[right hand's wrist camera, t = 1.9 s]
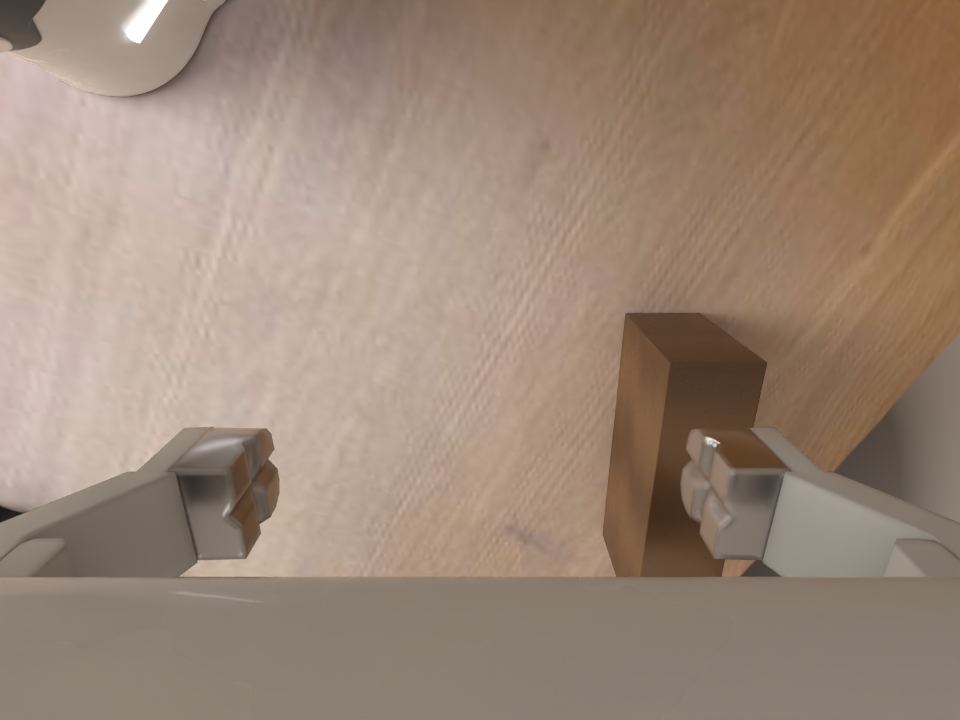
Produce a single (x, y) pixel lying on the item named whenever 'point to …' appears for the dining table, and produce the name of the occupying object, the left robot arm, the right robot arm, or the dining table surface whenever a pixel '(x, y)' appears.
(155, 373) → the dining table surface
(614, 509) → the box
